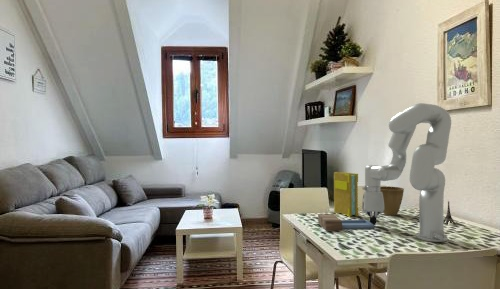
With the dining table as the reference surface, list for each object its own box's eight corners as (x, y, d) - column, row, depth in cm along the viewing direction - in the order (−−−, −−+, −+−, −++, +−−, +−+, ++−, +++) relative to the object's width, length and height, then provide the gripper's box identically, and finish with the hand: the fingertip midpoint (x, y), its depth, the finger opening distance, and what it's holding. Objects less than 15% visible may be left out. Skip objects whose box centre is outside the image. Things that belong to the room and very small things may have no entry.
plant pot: (372, 213, 206) (371, 187, 206) (391, 211, 211) (390, 185, 211) (390, 217, 192) (389, 190, 192) (409, 215, 197) (409, 188, 197)
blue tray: (374, 228, 168) (374, 224, 168) (342, 229, 167) (342, 225, 167) (366, 223, 179) (366, 219, 179) (336, 223, 178) (336, 220, 178)
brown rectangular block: (342, 230, 165) (342, 220, 165) (325, 230, 164) (325, 221, 164) (333, 222, 181) (333, 214, 181) (318, 223, 181) (318, 214, 181)
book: (358, 216, 197) (358, 173, 197) (349, 217, 195) (348, 174, 195) (340, 211, 213) (340, 171, 213) (331, 211, 211) (331, 172, 211)
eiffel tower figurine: (469, 225, 175) (468, 200, 175) (461, 228, 169) (461, 202, 169) (438, 220, 187) (438, 196, 187) (430, 223, 180) (430, 198, 180)
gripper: (360, 190, 169) (361, 226, 169) (390, 190, 170) (390, 226, 170) (356, 188, 177) (356, 223, 177) (384, 188, 177) (384, 222, 177)
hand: (373, 224), depth 173 cm, fingers closed
